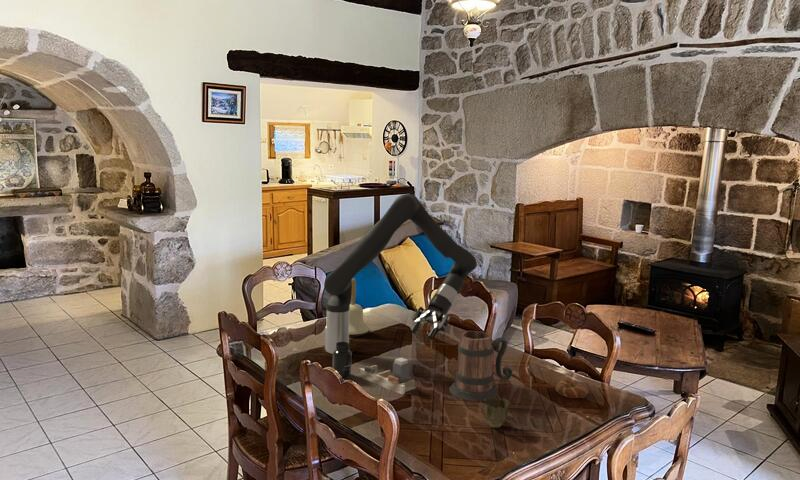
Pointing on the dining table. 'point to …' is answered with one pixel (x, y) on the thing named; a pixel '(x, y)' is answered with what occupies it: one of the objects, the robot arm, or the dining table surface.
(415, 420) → the dining table surface
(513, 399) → the dining table surface
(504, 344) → the tankard
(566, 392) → the bread roll
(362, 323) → the handbell
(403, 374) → the grey tall block
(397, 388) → the dock
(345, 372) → the supplement bottle
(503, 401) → the cup
